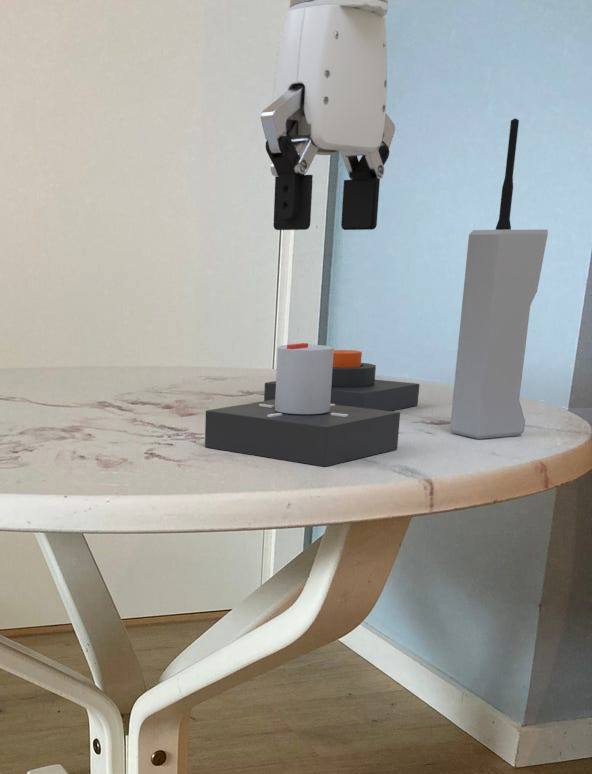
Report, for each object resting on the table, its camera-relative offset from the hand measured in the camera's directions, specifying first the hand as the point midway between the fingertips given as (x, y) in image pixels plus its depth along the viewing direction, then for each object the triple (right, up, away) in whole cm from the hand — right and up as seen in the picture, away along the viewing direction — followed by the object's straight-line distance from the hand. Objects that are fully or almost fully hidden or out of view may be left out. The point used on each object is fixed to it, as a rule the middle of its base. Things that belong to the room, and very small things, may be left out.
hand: (326, 229), depth 91 cm
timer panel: (-2, -18, -1) cm, 18 cm away
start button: (+6, -7, +21) cm, 22 cm away
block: (+6, -10, +22) cm, 25 cm away
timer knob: (-2, -15, -2) cm, 16 cm away
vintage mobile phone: (+15, -16, +5) cm, 23 cm away
